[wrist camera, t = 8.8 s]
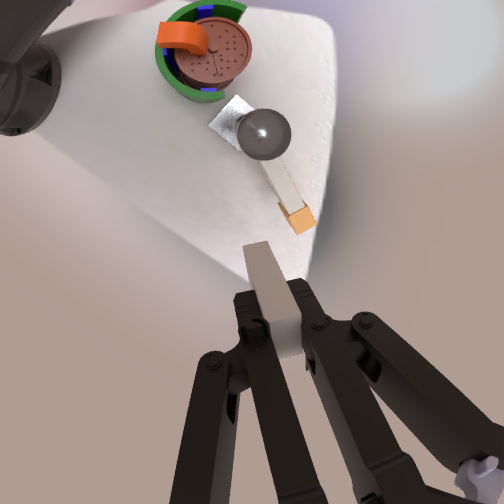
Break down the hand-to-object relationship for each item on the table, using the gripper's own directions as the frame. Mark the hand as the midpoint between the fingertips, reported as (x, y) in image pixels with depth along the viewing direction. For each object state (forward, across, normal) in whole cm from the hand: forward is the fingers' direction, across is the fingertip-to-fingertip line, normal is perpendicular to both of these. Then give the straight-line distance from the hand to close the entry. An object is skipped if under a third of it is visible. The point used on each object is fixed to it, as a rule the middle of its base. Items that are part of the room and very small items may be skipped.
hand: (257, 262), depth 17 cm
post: (+26, +3, +6) cm, 27 cm away
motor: (+27, 0, +15) cm, 31 cm away
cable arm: (+18, +6, -1) cm, 18 cm away
